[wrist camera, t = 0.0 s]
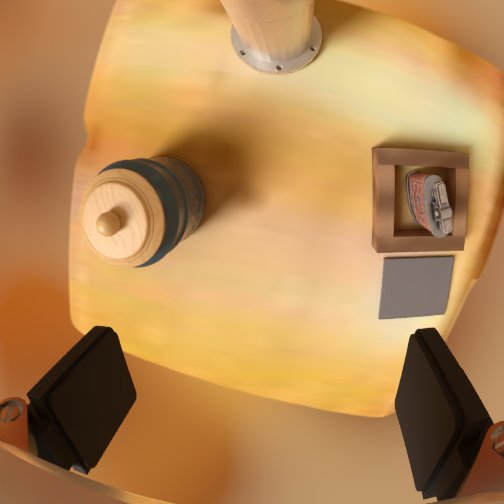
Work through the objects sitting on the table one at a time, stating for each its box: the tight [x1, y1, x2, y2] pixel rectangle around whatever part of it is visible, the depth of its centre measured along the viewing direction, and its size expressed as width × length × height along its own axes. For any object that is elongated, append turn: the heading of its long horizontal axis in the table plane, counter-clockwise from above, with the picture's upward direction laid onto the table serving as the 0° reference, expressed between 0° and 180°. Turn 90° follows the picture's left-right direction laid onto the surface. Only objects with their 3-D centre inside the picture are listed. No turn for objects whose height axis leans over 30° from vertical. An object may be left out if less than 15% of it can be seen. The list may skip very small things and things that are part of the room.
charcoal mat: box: [379, 256, 454, 319], centre depth 45 cm, size 10×12×1 cm
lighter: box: [405, 171, 452, 238], centre depth 36 cm, size 8×3×10 cm, turn 18°
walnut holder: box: [372, 148, 469, 253], centre depth 39 cm, size 14×14×4 cm
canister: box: [80, 157, 205, 268], centre depth 38 cm, size 13×13×18 cm
